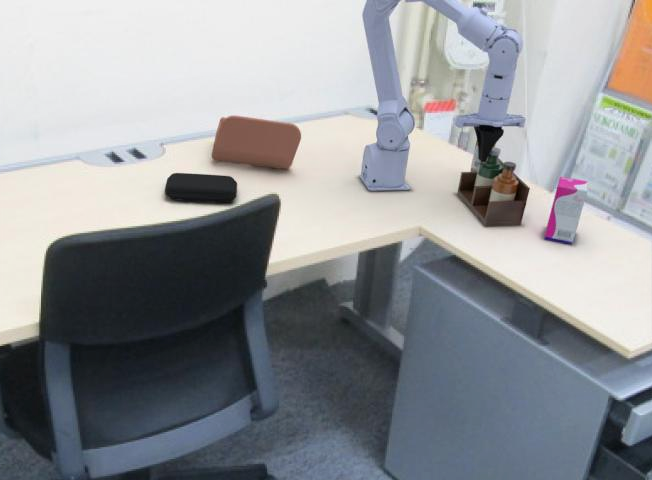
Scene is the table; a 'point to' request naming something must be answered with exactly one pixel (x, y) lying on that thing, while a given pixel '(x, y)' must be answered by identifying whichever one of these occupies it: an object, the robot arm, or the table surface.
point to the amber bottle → (504, 184)
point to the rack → (497, 210)
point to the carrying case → (201, 187)
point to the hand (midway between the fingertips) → (482, 160)
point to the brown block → (256, 142)
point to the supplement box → (566, 210)
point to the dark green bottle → (489, 169)
